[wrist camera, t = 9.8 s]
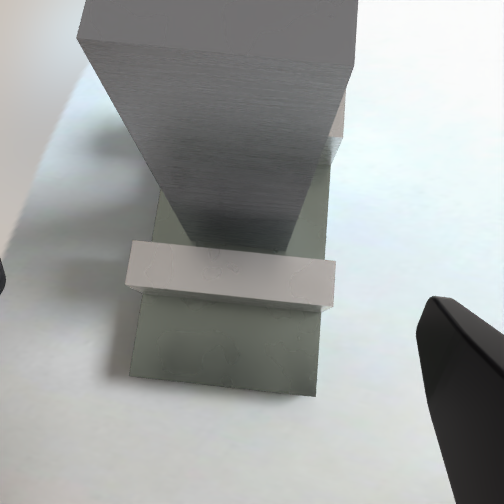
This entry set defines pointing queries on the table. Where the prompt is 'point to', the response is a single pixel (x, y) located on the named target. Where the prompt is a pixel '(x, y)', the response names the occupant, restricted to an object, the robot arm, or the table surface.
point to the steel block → (226, 102)
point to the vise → (236, 300)
